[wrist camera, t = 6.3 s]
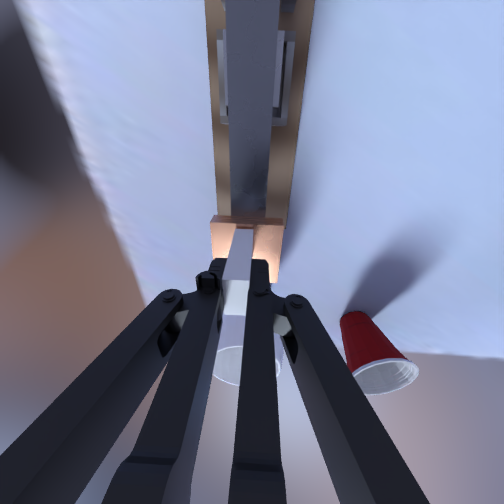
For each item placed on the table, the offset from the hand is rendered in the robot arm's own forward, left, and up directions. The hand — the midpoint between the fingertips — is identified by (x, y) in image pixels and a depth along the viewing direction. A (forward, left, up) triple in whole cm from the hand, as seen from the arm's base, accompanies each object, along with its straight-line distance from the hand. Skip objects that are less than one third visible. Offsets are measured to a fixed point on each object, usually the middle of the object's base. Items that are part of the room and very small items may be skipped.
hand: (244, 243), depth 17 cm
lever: (0, -7, -5) cm, 9 cm away
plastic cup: (-22, +25, -15) cm, 37 cm away
